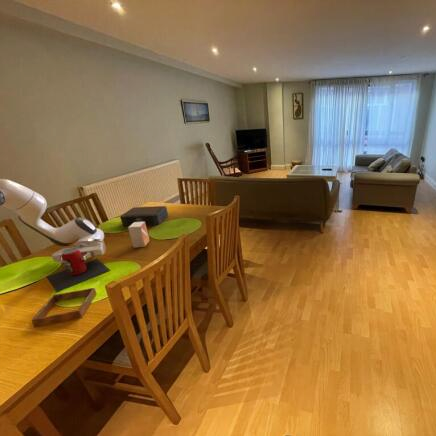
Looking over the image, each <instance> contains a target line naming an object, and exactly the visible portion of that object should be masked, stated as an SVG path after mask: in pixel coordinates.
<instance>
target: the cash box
mask: <svg viewBox="0 0 436 436" xmlns="http://www.w3.org/2000/svg"><path fill="white" fill-rule="evenodd" d="M168 216H169V213H168V207H167V206H166V205H158V206H156V205H155V206H135V207H134V206H133V207H131V208H129V210H127V211H126V212H124V213H123V214H122V215H120V221H121V225H122V226H123V227H129V226H130V225H131V224H133V223H134V222H145V224H146V226H153V225H154V226H157V225H158V226H159V225H160V224H161V223H162V222H163V221H164V220H165V219H166V218H167V217H168Z"/></svg>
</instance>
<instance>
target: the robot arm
mask: <svg viewBox="0 0 436 436" xmlns="http://www.w3.org/2000/svg"><path fill="white" fill-rule="evenodd" d="M0 207H3V208H4V207H5V209H8V210H10V211H12V212H14V213H15V214H17V215H18V220H19V221H20V222H21V223H22V224H24V225H25V226H26V227H28V228H30V229H31V230H33V231H35V232H36V233H38V234H39V235H42V237H45V238H46V239H47V240H49V241H50V242H51V243H52V244H54V245H55V246H58V247H64V248H61V249H59V250H57V251H56V252H54V253H52V254H51V259H52V261H53V262H55V263H57V262H59V263H60V265H63V264H64V261H63V259H62V252H63V251H65V250H67V249H71V248H77V249H78V250H79V251H80V252H81V254H82V257H81V260H82V261H83V260H84V261H87V259H89V258H92V257H99V256H103V255H104V254H105V253H106V250H107V247H106V243H105V242H104V239H105V233H104V231H103V230H102V229H101V228H98V227H96V225H95V224H94V223H93V222H92V221H91V220H89V219H88V218H85V217H75V218H74V219H72V220H70V221H68V222H67V223H65V224H63V225H61V226H59V227H54V226H52V225H50V224H49V223H47V222H46V221H44V220H43V219H41V218H42V216H43V215H44V214H45V212H46V210H47V207H48V203H47V200H46V198H45V197H44V196H43V195H42V194H40V193H38V192H36V191H34V190H33V189H30V188H29V187H27V186H24V185H23V184H20V183H18V182H15V181H13V180H9V179H6V178H0ZM74 242H75V243H74ZM73 243H74V244H73ZM72 244H73V246H71V247H69V246H70V245H72Z"/></svg>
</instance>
